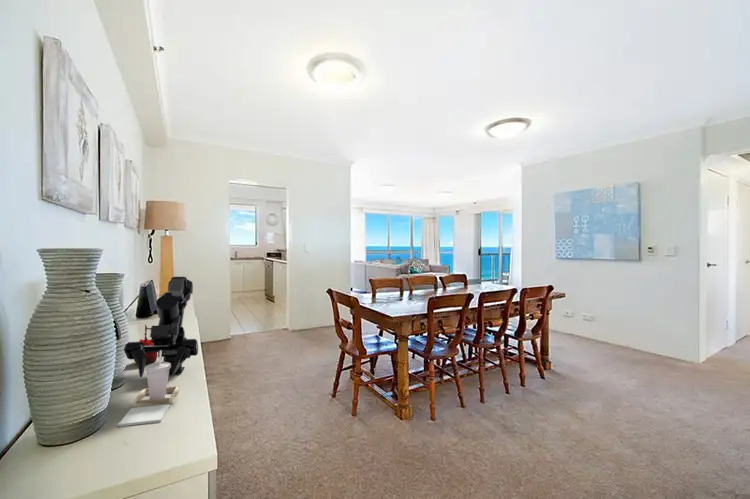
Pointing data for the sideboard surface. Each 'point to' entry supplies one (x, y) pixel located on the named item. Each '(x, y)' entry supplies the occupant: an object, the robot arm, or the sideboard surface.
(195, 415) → the sideboard surface
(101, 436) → the sideboard surface
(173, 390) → the frame
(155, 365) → the smoothie
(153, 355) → the red clay folk toy
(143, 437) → the sideboard surface
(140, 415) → the mat
